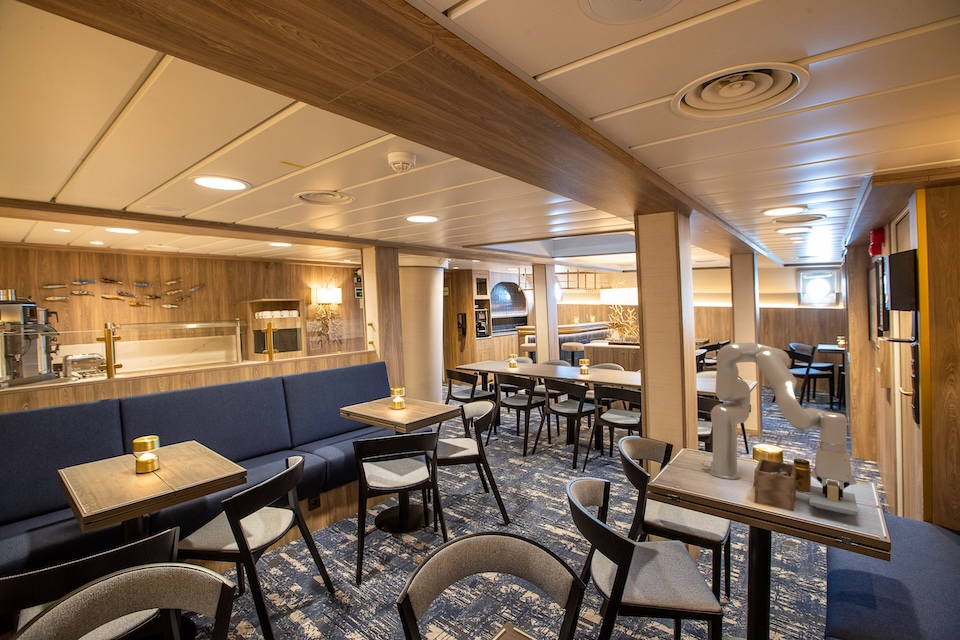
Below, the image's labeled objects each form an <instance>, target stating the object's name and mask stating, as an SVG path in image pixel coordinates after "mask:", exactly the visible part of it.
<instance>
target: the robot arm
mask: <svg viewBox="0 0 960 640" xmlns="http://www.w3.org/2000/svg"><path fill="white" fill-rule="evenodd" d="M738 363H755V364H756V366H757V367H758V368H759V370H760V371H761V372H762V374H763V376H764V377H765V378H766V380H767V381H768V382H769V384H770V386H771V387H772V388H773V390H774V397H775V400H776V405H777V407H778V410H779V411H780V413H781V414H782V416H783V417H784V418H785V420H786V422H787V423H788V424H790V425H791V427H793V428H794V429H796V430H799V431H808V430H812V429H813V430H814V429H819V441H814V446H818V448H817V450H816V452H815V453H816V454H815V461H814V462H815V463H814V467H813V469H812V470H811V473H810V476H811V478H813V479H815V480H817V481H818V482H819V483H820V484H821V486H822V488H823V494H825V497H826V498H827V480H831V481H837V482H838V500H840V497H841V498H843V492H844V489H846V488H847V487H849V486H852V485H853V486H854V485H857V481H856V479H855V477H854V475H853V473H852V462H851V461H852V460H851V456H850V453H849V452H848V451H847V434H848V433H847V431H848V429H847V427H848V421H847V420H848V419H847V416H846V415H845V414H843V413H840V412H839V413H838V412H833V411H825V410H822V409H820V408H819V409H818V408H814V407H808V408H807V407H806V408H803V407H802V405H801V404H800V402H799V401H798V399H797V397H796V395H795V394H796V393H795V388H796V386H797V384H798V380H797V379H796V378H795V377H796V376H794V375H793V373H792V372H791V371H790V369H789V368H788V366H789V365H790V363H791V358H790V356H789V354H788V353H787V352H786V351H785V350H783V349H780V348H776V347H773V346H769V345H765V344H761V343H756V342H733V343H728V344H725V345H724V346H722V347H721V348H720V349H719V350H718V352H717V354H716V373H715V374H716V375H715V396H716V397H717V399H719V400H720V401H723V402H726V403H719V404H717V405H715V406H714V407H712V409H711V411H710V419H711V425H712V426H711V427H712V461H707V460H702V462H701V465H702V466H703V467H705V468H709V469H708V473H709V474H710V475H711V476H714V477H717V478H721V479H723V480H725V479H726V480H738V479H740V478H741V477H742V474H741V472H739V471H738V433H737V430H736V427H735V425H738V424H744V423H745V422H746V421H748V418H749V416H750V412H751V411H750V410H751V408H750V407H751V388H750V386H749V384H748V382H746V381H745V380H743V379H740V378H739V368H738V365H737V364H738Z"/></svg>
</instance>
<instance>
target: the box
mask: <svg viewBox="0 0 960 640" xmlns="http://www.w3.org/2000/svg"><path fill="white" fill-rule="evenodd" d="M780 469H782V470H784V471H786V472H787V473H788V475H789V477H788V476H783V475H778V474H772V473H769V472H778V471H780ZM796 494H797V491H796V465H794V464H790V463H785V462H779V461H775V460H768V459H763V458H759V461H758V463H757V465H756V468H755V470H754V503H755V504H756V503H757V504H759V505H763V506H764V505H765V506H768V507H773V508H778V509H781V510H787V511H790V512H794V511H795V505H796V503H795V502H796V498H797V497H796V496H797V495H796Z"/></svg>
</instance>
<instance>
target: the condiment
mask: <svg viewBox="0 0 960 640" xmlns="http://www.w3.org/2000/svg"><path fill="white" fill-rule="evenodd" d="M810 464H811V462H810V461H809V460H808V459H803V458H794V459H793V465H796V492H800V493H804V494H808V495H810V485H811V486H812V484H811V483H812V480H811V479H812V476H810V473H811V472H812V470H811V468H810V467H811V465H810Z"/></svg>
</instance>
